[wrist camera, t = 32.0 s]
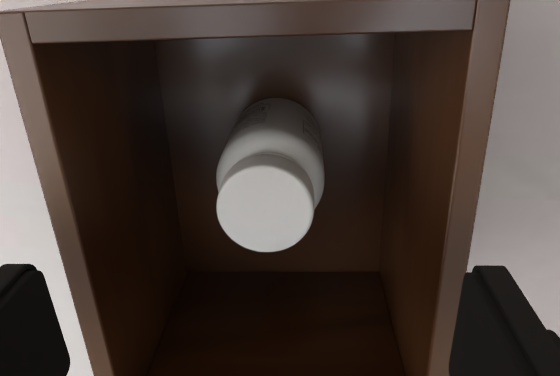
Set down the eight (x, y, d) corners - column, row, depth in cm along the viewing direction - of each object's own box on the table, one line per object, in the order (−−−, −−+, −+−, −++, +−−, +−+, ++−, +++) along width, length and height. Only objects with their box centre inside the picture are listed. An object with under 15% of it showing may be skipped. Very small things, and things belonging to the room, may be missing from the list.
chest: (135, -6, 21) (-9, 11, 11) (413, -16, 21) (513, -7, 11) (178, 274, 28) (110, 438, 18) (390, 274, 27) (439, 444, 17)
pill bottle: (224, 167, 24) (192, 248, 17) (244, 85, 22) (215, 138, 15) (306, 189, 24) (307, 277, 17) (332, 109, 22) (345, 172, 15)
